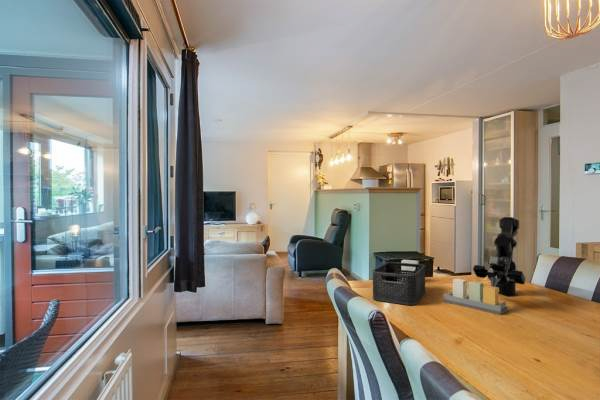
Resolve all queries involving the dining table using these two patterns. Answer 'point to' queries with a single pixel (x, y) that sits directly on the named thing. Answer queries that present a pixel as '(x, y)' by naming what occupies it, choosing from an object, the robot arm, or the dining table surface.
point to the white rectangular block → (459, 288)
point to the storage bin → (398, 283)
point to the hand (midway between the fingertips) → (492, 290)
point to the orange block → (490, 295)
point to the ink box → (409, 267)
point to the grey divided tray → (475, 304)
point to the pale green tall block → (475, 291)
